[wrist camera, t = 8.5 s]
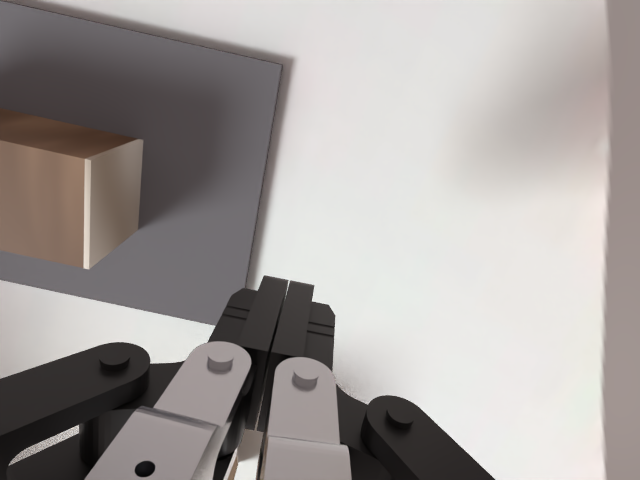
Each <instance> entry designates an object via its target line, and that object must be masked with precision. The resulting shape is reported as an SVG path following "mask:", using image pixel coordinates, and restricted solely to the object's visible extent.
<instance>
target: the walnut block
mask: <svg viewBox="0 0 640 480" xmlns="http://www.w3.org/2000/svg"><path fill="white" fill-rule="evenodd" d="M142 155H143V140H141V139H137V138H132V137H128V136H124V135H119V134H115V133H110V132H106V131H101V130H97V129H92V128H88V127H83V126H79V125H74V124H70V123H65V122H61V121H56V120H52V119H47V118H43V117H38V116H34V115H29V114H25V113H20V112H16V111H11V110H7V109H2V108H0V250H1V251H6V252H11V253H15V254H20V255H24V256H29V257H34V258H38V259H43V260H48V261H52V262H57V263H62V264H66V265H71V266H76V267H80V268H85V269H90V268H91V267H93V266H94V265H95V264H96V263H98V262H99V261H100V260H101V259H103V258H104V257H105V256H106V255H108V254H109V253H110V252H111V251H113V250H114V249H115V248H116V247H118V246H119V245H120V244H121V243H122V242H124V241H125V240H126V239H127V238H129V237H130V236H131V235H132V234H134V233H135V232H136V231H137V230H138V221H139V205H140V188H141V172H142Z"/></svg>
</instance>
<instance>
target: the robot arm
mask: <svg viewBox="0 0 640 480" xmlns="http://www.w3.org/2000/svg"><path fill="white" fill-rule="evenodd" d="M287 286H288V280H285V279H280V278H275V277H270V276H265V275H264V277H263V279H262V282H261V284H260V287H259V289H258V291H255V290H250V289H245V288H242V289H240V290H239V291H237V292H236V293H234V294H233V295H231V297H230V299H229V301H228V303H227V305H226V307H225V309H224V311H223V313H222V316H221V317H220V319H219V321H218V323H217V325H216V327H215V329H214V331H213V333H212V335H211V337H210V339H209V340H208V342H207V343H205V344H202V345H200V346H198V347H196V348H195V349H194V350H193V351H192V352H191V353H190V355H189V356H188V358H187V359H186V360H185V361H182V362H176V363H159V364H150V357H149V354H148V353H147V352H146V351H145V350H144V349H143V348H141V347H139V346H137V345H134V344H130V343H124V342H116V343H108V344H103V345H100V346H97V347H94V348H91V349H88V350H85V351H82V352H79V353H76V354H73V355H70V356H67V357H64V358H61V359H58V360H55V361H52V362H49V363H46V364H43V365H40V366H37V367H34V368H31V369H28V370H26V371H23V372H20V373H17V374H14V375H11V376H8V377H5V378H2V379H0V480H227V479H228V476H229V474H230V471H231V469H232V466H233V463H234V461H235V458H236V455H237V449H238V446H239V444H240V443H241V440H242V437H243V433H244V430H245V429H250V430H254V429H255V425H256V421H257V417H258V413H259V409H260V406H261V411H260V416H259V422H258V427H257V431H261V432H264V433H263V438H262V444H261V449H260V454H259V460H258V466H257V473H256V480H495V479H494V478H493V477H492V476H491V475H490V474H489V473H488V472H487V471H486V470H485V469H484V468H483V467H481V466H480V465H479V464H478V463H477V462H476V461H475V460H474V459H473V458H472V457H471V456H470V455H469V454H468V453H467V452H466V451H465V450H464V449H462V448H461V447H460V446H459V445H458V444H457V443H456V442H455V441H454V440H453V439H452V438H451V437H450V436H449V435H448V434H447V433H446V432H445V431H443V430H442V429H441V428H440V427H439V426H438V425H437V424H436V423H435V422H434V421H433V420H432V419H431V418H430V417H429V416H428V415H427V414H426V413H424V412H423V411H422V410H421V409H420V408H419V407H418V406H416V405H415V404H414V403H412V402H410V401H408V400H406V399H403V398H400V397H397V396H388V395H386V396H380V397H377V398H375V399H373V400H372V401H371V402H370V403H369V404H368V405H367V404H365V403H363V402H360V401H358V400H356V399H354V398H352V397H350V396H349V395H347V394H346V393H345V392H343V391H342V390H341V389H340V388H339V387H338V385H337V384H336V381H335V377H334V374H333V373H332V367H333V349H334V330H335V329H334V327H335V315H334V313H333V311H332V310H331V308H330V306H329V305H326V304H321V303H316V302H312V296H313V290H314V285H311V284H306V283H301V282H296V281H291V280H290V283H289V287H288V291H287ZM286 292H287V295H286ZM285 297H286V298H285ZM262 398H263V400H262ZM261 402H262V405H261ZM77 425H79V434H76V435H74V436H72V437H70V438H68V439H66V440H64V441H61V442H59V443H57V444H55V445H53V446H51V447H48V448H46V449H44V450H42V451H40V452H38V453H36V454H33V455H31V456H29V457H27V458H25V459H23V460H20V461H18V462H16V463H14V464H12V465H10V466H8V465H9V463H10V462H11V461H12V459H13V458H14V457H15V456H16V455H17V454H19V453H20V452H21V451H23V450H24V449H26V448H28V447H30V446H32V445H35V444H37V443H39V442H41V441H43V440H46V439H48V438H50V437H52V436H55V435H57V434H59V433H61V432H63V431H66V430H68V429H70V428H72V427H75V426H77Z"/></svg>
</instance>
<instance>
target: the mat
mask: <svg viewBox="0 0 640 480" xmlns="http://www.w3.org/2000/svg"><path fill="white" fill-rule="evenodd" d="M282 67H283V65H281V64H277V63H272V62H268V61H264V60H259V59H255V58H250V57H246V56H242V55H237V54H233V53H229V52H224V51H220V50H215V49H211V48H207V47H202V46H198V45H194V44H189V43H185V42H180V41H176V40H172V39H167V38H163V37H158V36H154V35H150V34H145V33H141V32H137V31H132V30H128V29H123V28H119V27H115V26H110V25H106V24H102V23H97V22H93V21H88V20H84V19H80V18H75V17H71V16H67V15H62V14H58V13H53V12H49V11H45V10H40V9H36V8H32V7H27V6H23V5H18V4H14V3H10V2H5V1H1V0H0V108H2V109H7V110H11V111H16V112H20V113H25V114H29V115H34V116H38V117H43V118H47V119H52V120H56V121H61V122H65V123H70V124H74V125H79V126H83V127H88V128H92V129H97V130H101V131H106V132H110V133H115V134H119V135H124V136H128V137H132V138H137V139H141V140H143V155H142V172H141V188H140V205H139V221H138V230H137V231H136V232H135V233H134V234H132V235H131V236H130V237H129V238H127V239H126V240H125V241H124V242H122V243H121V244H120V245H119V246H118V247H116V248H115V249H114V250H113V251H111V252H110V253H109V254H108V255H106V256H105V257H104V258H103V259H101V260H100V261H99V262H98V263H96V264H95V265H94V266H93V267H91V268H90V269H85V268H80V267H76V266H71V265H66V264H62V263H57V262H52V261H48V260H43V259H38V258H34V257H29V256H24V255H20V254H15V253H11V252H6V251H1V250H0V280H4V281H8V282H13V283H18V284H22V285H27V286H32V287H36V288H41V289H46V290H50V291H55V292H60V293H65V294H69V295H74V296H79V297H83V298H88V299H93V300H97V301H102V302H107V303H111V304H116V305H121V306H125V307H130V308H135V309H140V310H144V311H149V312H154V313H158V314H163V315H168V316H172V317H177V318H182V319H186V320H191V321H196V322H200V323H205V324H210V325H215V326H216V325H217V323H218V321H219V319H220V317H221V316H222V313H223V311H224V309H225V307H226V305H227V303H228V301H229V299H230V297H231V295H233V294H234V293H236V292H237V291H239V290H240V289H242V288H245V287H246V281H247V275H248V269H249V263H250V257H251V251H252V245H253V239H254V233H255V227H256V221H257V215H258V209H259V204H260V198H261V192H262V186H263V180H264V174H265V168H266V162H267V156H268V150H269V144H270V138H271V132H272V126H273V120H274V114H275V108H276V102H277V96H278V90H279V84H280V79H281V73H282Z"/></svg>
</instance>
